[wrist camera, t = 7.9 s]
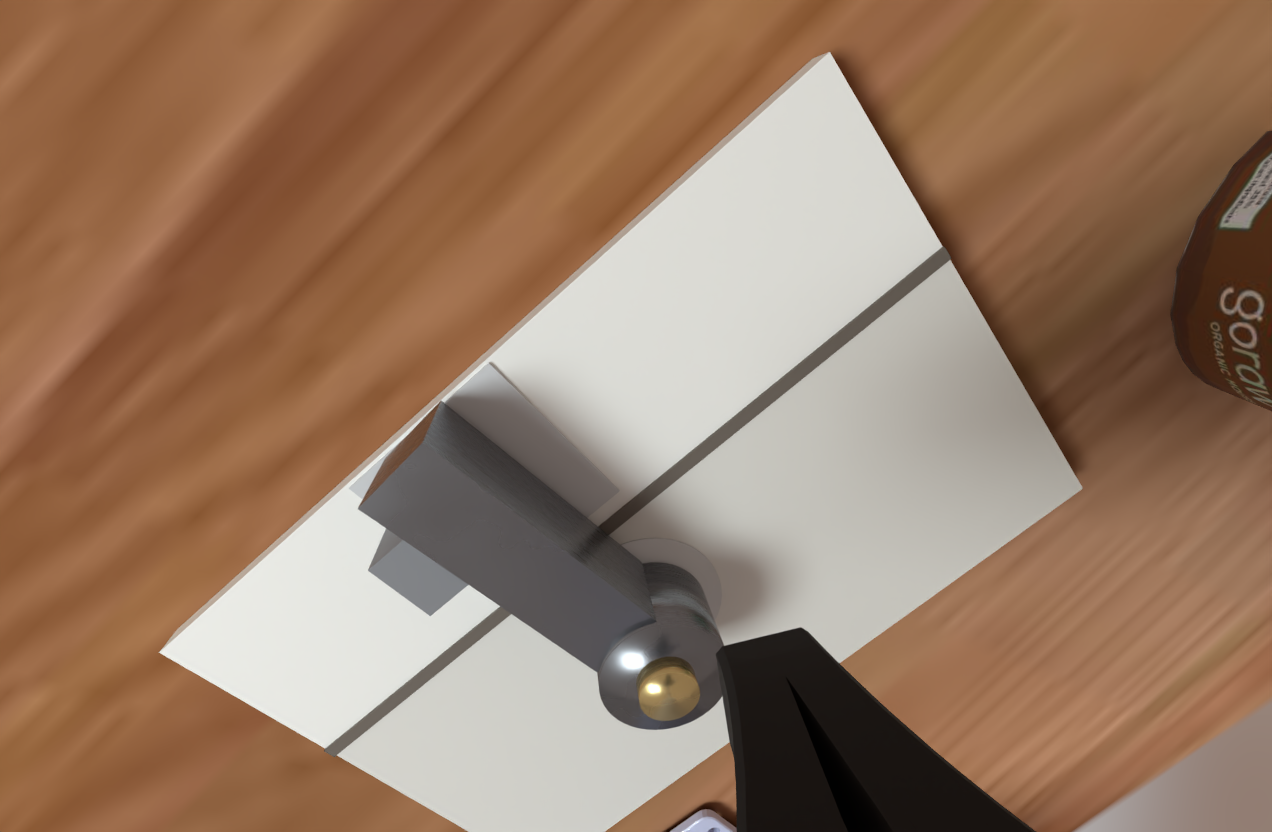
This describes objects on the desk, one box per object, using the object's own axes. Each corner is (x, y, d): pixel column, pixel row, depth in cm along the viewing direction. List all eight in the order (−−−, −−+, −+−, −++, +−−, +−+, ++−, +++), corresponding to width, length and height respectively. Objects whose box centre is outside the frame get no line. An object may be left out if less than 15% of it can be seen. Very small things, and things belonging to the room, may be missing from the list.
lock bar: (728, 604, 19) (764, 688, 16) (646, 674, 20) (665, 767, 17) (459, 381, 16) (438, 435, 12) (367, 475, 16) (325, 549, 13)
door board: (1059, 474, 21) (1149, 528, 18) (543, 848, 25) (543, 947, 21) (812, 58, 15) (881, 31, 12) (178, 628, 19) (104, 721, 15)
